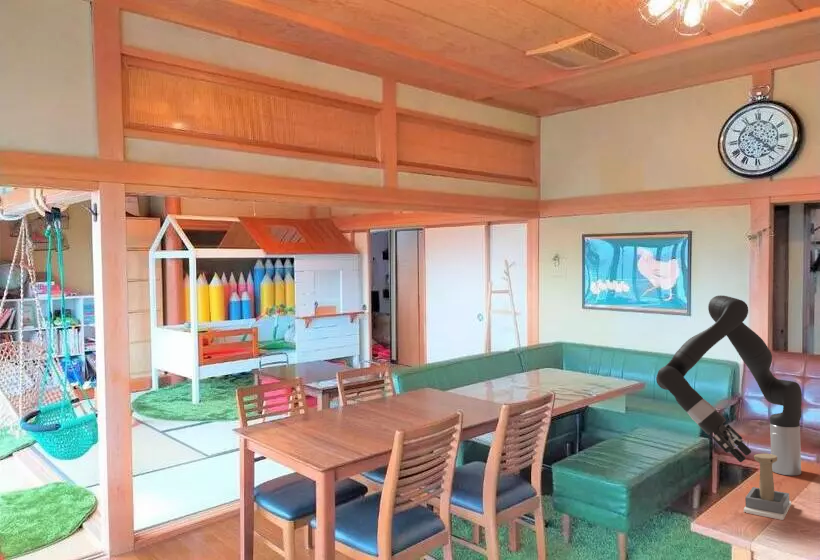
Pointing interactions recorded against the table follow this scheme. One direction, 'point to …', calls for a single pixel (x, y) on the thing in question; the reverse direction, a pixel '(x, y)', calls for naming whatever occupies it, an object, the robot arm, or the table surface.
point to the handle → (766, 475)
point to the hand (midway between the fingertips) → (746, 457)
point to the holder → (767, 504)
